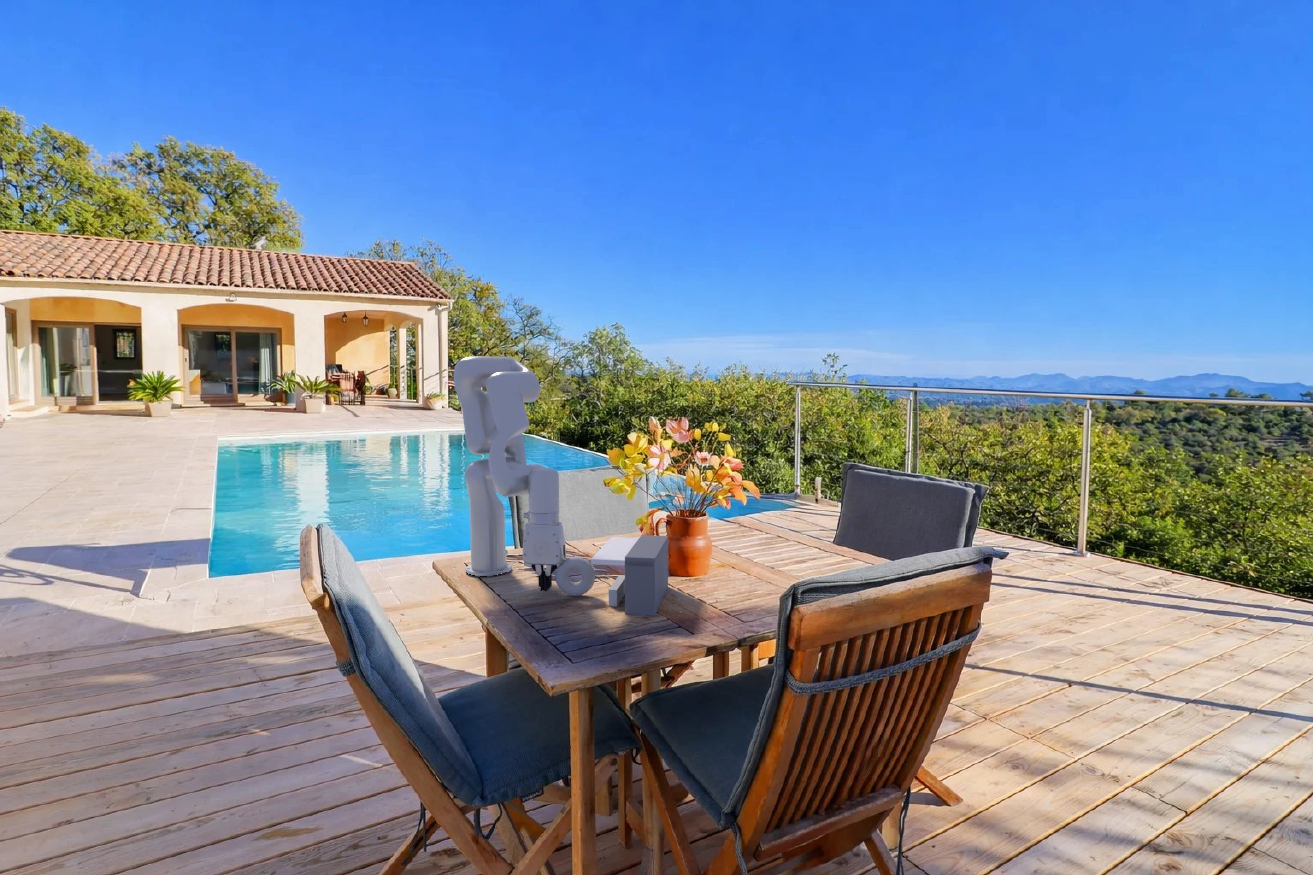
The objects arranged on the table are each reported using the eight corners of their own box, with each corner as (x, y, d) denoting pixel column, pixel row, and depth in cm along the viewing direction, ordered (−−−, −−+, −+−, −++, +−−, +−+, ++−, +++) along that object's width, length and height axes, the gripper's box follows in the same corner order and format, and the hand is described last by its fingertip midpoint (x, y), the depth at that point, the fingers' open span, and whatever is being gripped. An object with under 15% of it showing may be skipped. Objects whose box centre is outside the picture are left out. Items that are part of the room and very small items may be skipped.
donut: (554, 597, 175) (553, 558, 174) (556, 593, 179) (556, 554, 178) (594, 598, 175) (594, 558, 174) (596, 593, 178) (595, 555, 177)
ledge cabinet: (611, 584, 186) (611, 534, 185) (668, 586, 184) (668, 536, 183) (591, 612, 165) (590, 555, 163) (654, 615, 162) (654, 558, 161)
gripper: (510, 520, 173) (511, 592, 175) (568, 522, 171) (569, 595, 173) (520, 514, 181) (522, 583, 183) (577, 515, 178) (578, 586, 180)
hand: (545, 589), depth 178 cm, fingers closed
